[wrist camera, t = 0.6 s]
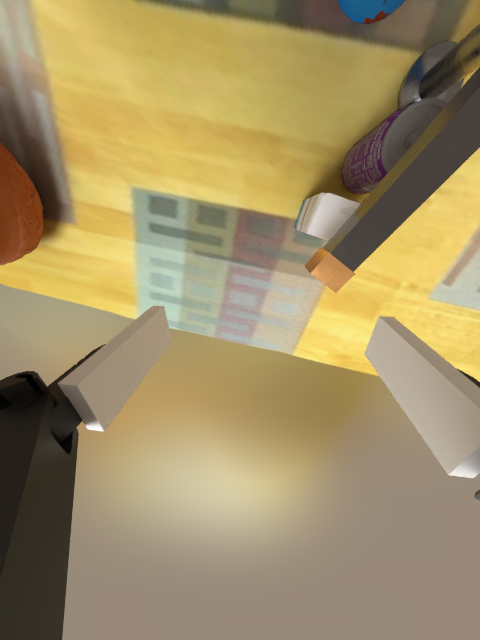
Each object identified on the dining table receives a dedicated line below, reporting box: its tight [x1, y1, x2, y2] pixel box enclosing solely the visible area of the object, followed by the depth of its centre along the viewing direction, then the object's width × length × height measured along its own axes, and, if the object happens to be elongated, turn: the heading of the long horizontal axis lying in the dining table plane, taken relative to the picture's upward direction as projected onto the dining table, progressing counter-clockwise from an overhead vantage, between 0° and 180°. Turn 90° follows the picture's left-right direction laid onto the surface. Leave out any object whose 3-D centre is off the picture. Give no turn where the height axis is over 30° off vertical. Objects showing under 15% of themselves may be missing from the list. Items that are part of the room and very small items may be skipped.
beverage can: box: [342, 98, 447, 194], centre depth 25 cm, size 7×7×12 cm
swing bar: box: [305, 67, 480, 293], centre depth 14 cm, size 28×4×4 cm, turn 146°
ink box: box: [295, 192, 361, 241], centre depth 29 cm, size 8×5×12 cm, turn 75°
